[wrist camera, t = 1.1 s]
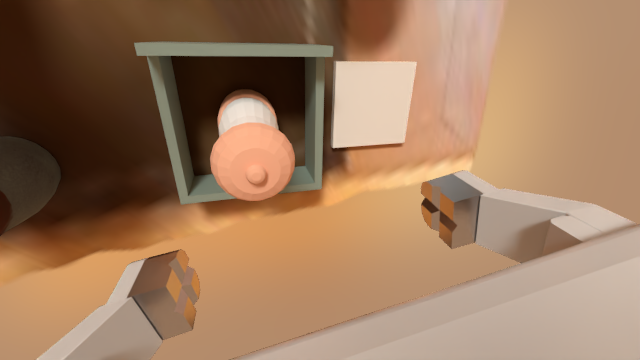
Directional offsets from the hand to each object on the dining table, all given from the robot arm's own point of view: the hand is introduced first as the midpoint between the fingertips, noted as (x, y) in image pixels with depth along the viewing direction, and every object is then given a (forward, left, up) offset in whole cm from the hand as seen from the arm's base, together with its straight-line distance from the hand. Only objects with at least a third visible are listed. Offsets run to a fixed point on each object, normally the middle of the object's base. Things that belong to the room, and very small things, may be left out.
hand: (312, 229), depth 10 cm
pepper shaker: (-1, -4, -32) cm, 32 cm away
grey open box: (-1, -4, -32) cm, 32 cm away
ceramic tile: (+17, -3, -32) cm, 36 cm away
